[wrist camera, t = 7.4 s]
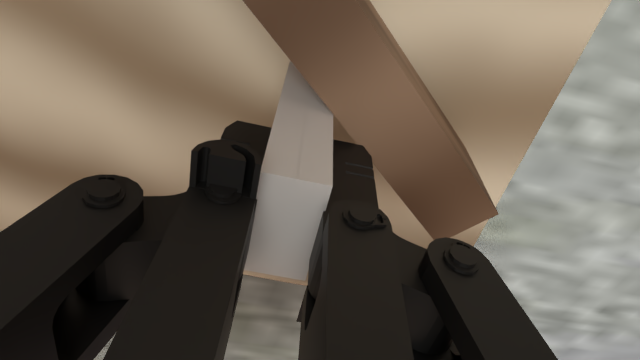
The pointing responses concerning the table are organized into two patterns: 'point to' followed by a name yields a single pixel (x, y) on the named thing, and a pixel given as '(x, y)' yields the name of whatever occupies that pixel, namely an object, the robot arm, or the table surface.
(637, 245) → the table surface
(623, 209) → the table surface
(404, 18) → the dial board
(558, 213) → the table surface
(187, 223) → the robot arm
